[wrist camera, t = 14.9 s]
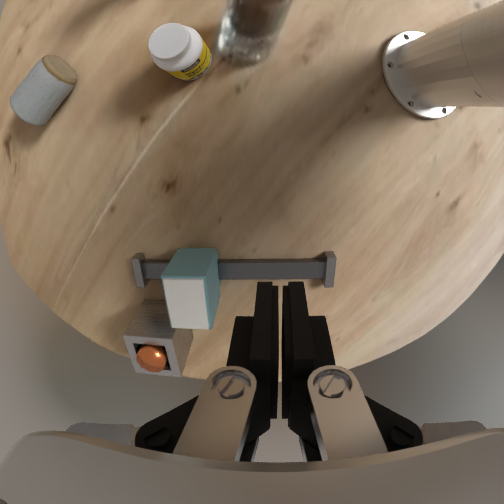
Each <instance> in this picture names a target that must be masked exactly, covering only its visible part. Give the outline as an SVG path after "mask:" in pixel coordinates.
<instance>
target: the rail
mask: <svg viewBox="0 0 504 504" xmlns="http://www.w3.org/2000/svg"><path fill="white" fill-rule="evenodd" d="M131 261H132V266H133V271H134V276H135V280H136V285H137V287H143V288H145V286H146V285H147V283H148V282H149V279H161V275H162V273H163V271H164V270H165V268H166V267H167V265H168V264H169V262H170V261H171V260H145V257H144V253H137V254H136V255H135V256H134V257H133V258H132V259H131ZM217 265H218V277H219V279H311V278H322V281H323V284H324V287H325V288H327V287H333V285H334V276H335V267H336V256H335V254H334V252H333V251H329V252H324V258H314V259H218V261H217Z"/></svg>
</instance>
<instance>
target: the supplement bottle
mask: <svg viewBox="0 0 504 504" xmlns="http://www.w3.org/2000/svg"><path fill="white" fill-rule="evenodd" d="M148 47H149V50H150V52H151V56H152V59H153V61H154V63H155V64H156V65H157V66H158V67H160V68H161V69H163V70H165V71H166V72H168V73H170V74H171V75H173V76H175V77H176V78H178V79H181V80H194V79H197V78H199V77H201V76H202V75H204V74H205V73H206V72H207V70H208V69H209V67H210V65H211V53H210V51H209V49H208V47H207V46H206V44H205V43H204V41H203V40H202V38H201V36H200V35H199V34H198V33H197V31H195V30H194V29H192V28H190V27H188V26H182V25H181V24H178V23H167V24H164V25H161V26H160V27H158V28H157V29H156V30H155V31H154V32H153V33H152V34H151V36H150V38H149V42H148Z"/></svg>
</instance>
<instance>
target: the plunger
mask: <svg viewBox="0 0 504 504" xmlns="http://www.w3.org/2000/svg"><path fill="white" fill-rule="evenodd" d="M167 359H168V356H167V353H166V349H165V346H161V345H149V344H142V345H141V347H140V349H139V351H138V353H137V356H136V360H137V362H138V364H139V365H140V366H141V367H142V368H144V369H145V370H147V371H150V372H160V371H162V370H163V369H164V367H165V364H166V361H167Z"/></svg>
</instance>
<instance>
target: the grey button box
mask: <svg viewBox="0 0 504 504" xmlns="http://www.w3.org/2000/svg"><path fill="white" fill-rule="evenodd" d="M123 338H124V341H125V344H126V347H127V350H128V353H129V356H130V358H131V361H132V364H133V367H134V369H135V372H137V373H145V374H154V375H163V376H173V377H182V373H183V370H184V367H185V363H186V360H187V357H188V353H189V350H190V347H191V343H192V340H193V333H192V329H186V328H171V326H170V321H169V316H168V311H167V306H166V301H165V300H144V301H143V302H142V304H141V305H140V307H139V309H138V310H137V312H136V314H135V315H134V317H133V318H132V320H131V322H130V323H129V325H128V327H127V328H126V330H125V332H124V333H123ZM142 344H149V345H161V346H165V349H166V353H167V356H168V359H167V361H166V364H165V367H164V369H163V370H162V371H160V372H150V371H147V370H145V369H144V368H142V367H141V366H140V365H139V364H138V362H137V360H136V356H137V353H138V351H139V349H140V347H141V345H142Z"/></svg>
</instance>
